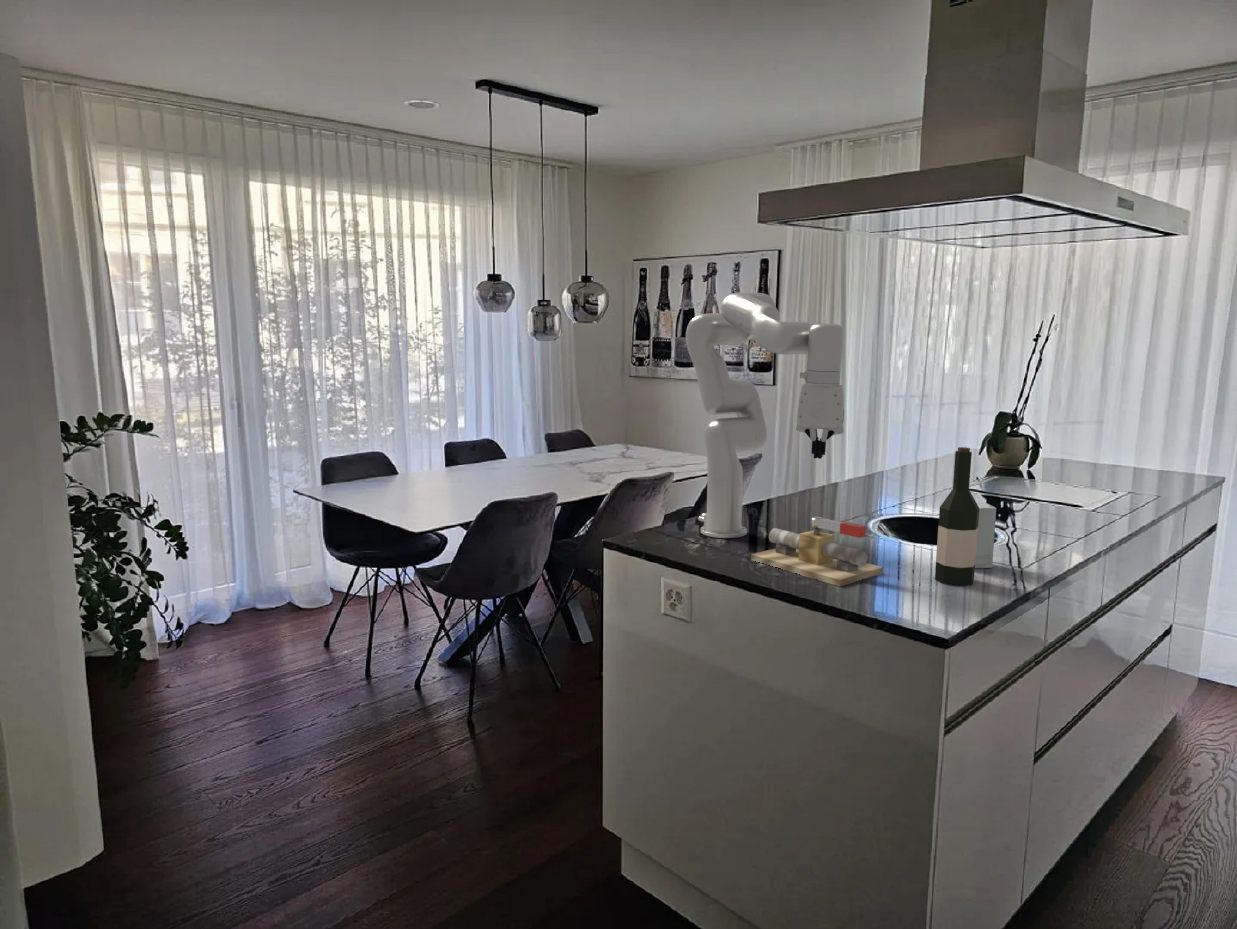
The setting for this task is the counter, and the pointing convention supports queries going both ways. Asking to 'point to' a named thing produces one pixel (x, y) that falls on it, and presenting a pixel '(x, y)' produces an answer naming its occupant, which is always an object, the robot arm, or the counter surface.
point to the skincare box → (985, 536)
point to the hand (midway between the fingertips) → (818, 457)
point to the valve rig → (817, 557)
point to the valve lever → (839, 527)
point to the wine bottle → (958, 528)
